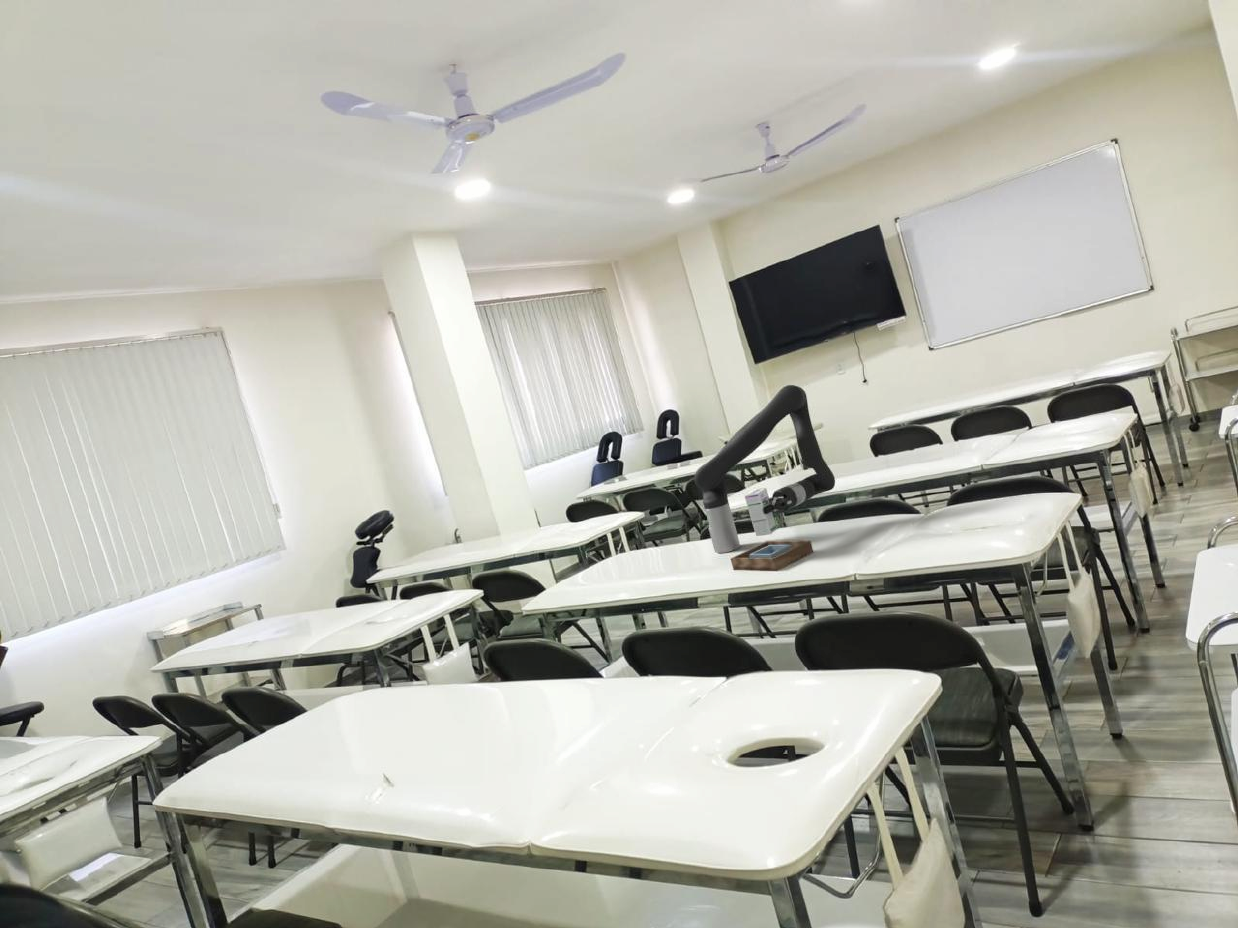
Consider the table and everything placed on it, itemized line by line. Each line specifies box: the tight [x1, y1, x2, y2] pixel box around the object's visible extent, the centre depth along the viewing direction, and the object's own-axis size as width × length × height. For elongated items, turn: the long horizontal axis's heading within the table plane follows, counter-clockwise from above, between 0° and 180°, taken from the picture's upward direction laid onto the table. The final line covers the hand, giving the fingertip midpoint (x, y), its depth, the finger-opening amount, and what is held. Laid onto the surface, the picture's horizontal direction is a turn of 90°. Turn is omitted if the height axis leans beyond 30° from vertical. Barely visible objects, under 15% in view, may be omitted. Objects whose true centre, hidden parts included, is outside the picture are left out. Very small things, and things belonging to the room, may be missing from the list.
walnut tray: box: [730, 540, 814, 572], centre depth 270 cm, size 20×18×4 cm
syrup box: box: [744, 487, 779, 537], centre depth 269 cm, size 6×6×14 cm
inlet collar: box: [749, 545, 792, 558], centre depth 270 cm, size 10×10×3 cm
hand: (755, 511), depth 268 cm, fingers closed on syrup box, 7 cm apart
